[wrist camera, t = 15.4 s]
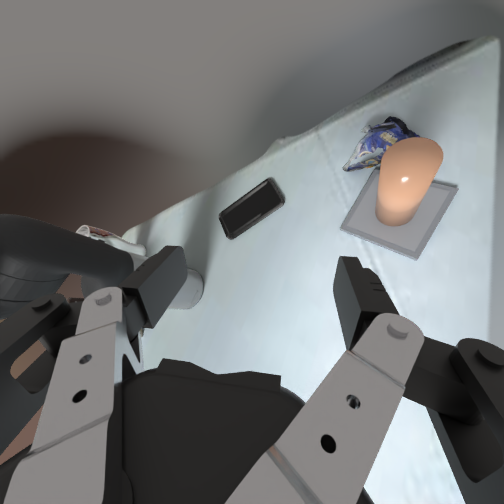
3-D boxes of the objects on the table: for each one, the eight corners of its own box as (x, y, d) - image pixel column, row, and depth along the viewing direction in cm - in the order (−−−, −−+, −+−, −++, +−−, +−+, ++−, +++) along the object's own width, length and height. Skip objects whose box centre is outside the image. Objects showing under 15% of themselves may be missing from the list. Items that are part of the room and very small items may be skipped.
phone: (217, 214, 52) (269, 176, 48) (220, 216, 53) (271, 179, 49) (228, 240, 48) (285, 202, 44) (230, 242, 49) (287, 204, 45)
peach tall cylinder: (371, 223, 36) (375, 181, 24) (379, 193, 36) (386, 138, 25) (411, 228, 33) (437, 183, 22) (419, 196, 34) (448, 135, 22)
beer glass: (128, 254, 64) (69, 239, 51) (143, 238, 63) (86, 218, 50) (134, 271, 61) (73, 259, 48) (150, 255, 60) (92, 237, 47)
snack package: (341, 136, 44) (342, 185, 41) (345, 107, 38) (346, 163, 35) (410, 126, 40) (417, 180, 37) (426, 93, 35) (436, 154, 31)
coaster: (340, 230, 39) (340, 227, 38) (374, 172, 39) (374, 168, 38) (416, 260, 33) (418, 258, 32) (456, 192, 33) (459, 188, 32)
